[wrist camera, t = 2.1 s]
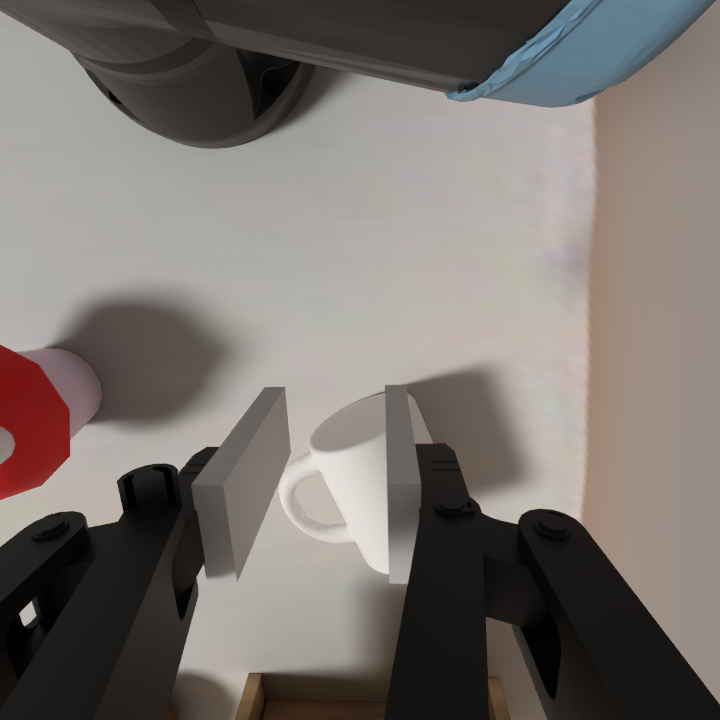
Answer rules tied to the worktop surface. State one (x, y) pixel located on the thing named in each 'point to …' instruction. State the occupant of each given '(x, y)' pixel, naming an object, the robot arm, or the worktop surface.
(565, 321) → the worktop surface
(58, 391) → the mushroom
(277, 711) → the small wooden shelf
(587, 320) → the worktop surface
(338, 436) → the mug
